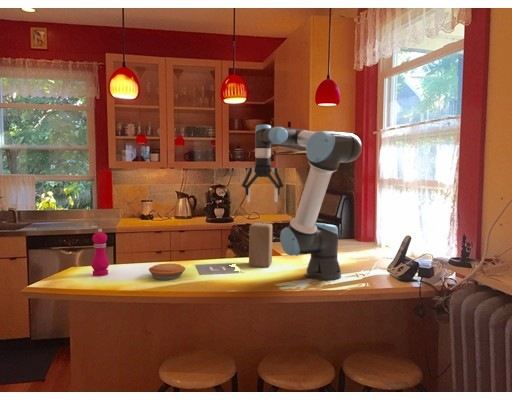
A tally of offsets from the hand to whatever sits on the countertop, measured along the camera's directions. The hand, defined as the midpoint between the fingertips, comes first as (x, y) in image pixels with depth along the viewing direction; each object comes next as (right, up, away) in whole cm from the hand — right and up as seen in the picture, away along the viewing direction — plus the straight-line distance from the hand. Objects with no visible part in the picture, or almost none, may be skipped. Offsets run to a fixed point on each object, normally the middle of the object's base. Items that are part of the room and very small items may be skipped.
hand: (262, 202), depth 205 cm
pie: (-41, -32, -23) cm, 57 cm away
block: (-1, -31, +2) cm, 31 cm away
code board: (-20, -31, -6) cm, 38 cm away
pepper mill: (-70, -32, -21) cm, 80 cm away
